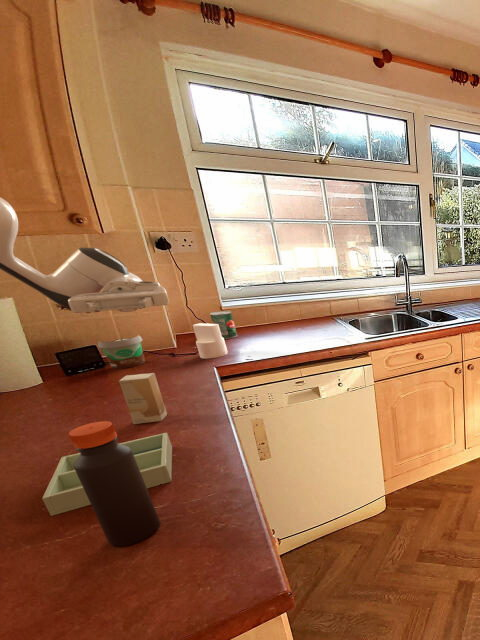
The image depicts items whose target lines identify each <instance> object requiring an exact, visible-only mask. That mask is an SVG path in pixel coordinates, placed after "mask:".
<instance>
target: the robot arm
mask: <svg viewBox="0 0 480 640" xmlns="http://www.w3.org/2000/svg"><path fill="white" fill-rule="evenodd" d="M18 233H19V219H18V215H17V212H16V211H15V209H14V207H13V206H12V205H11V204H10V202H8V201H7V200H5V199H4V198H2V196H0V270H1V271H3V272H5V273H6V274H7V275H9V276H11V277H12V278H15V279H16V280H17V281H20V282H22V283H23V284H25V285H27V286H28V287H30V288H32V289H33V290H35V291H37V292H38V293H40V294H42V295H43V296H45V297H46V298H47V299H49V300H50V301H52V302H53V303H55V304H56V305H58V306H61V307H63V308H65V309H69V310H71V312H72V313H74V314H83V313H85V314H86V313H100V312H106V311H118V312H121V313H131V312H136V311H138V310H142V309H148V308H149V307H150V308H151V307H161V306H169V305H170V304H171V302H170V299H169V296H168V292H167V290H166V289H165V287H163V286H162V285H161V284H160V282H158V281H144V280H142V278H140V277H139V276H138V275H136V274H135V273H132V272H130V271H129V270H128V267H127V266H126V264H124V263H123V261H121V260H120V259H118V258H117V257H115V256H113V255H112V254H110V253H108V252H107V251H104V250H103V249H99V248H96V247H88V246H87V247H84V246H83V247H79V248H78V249H76V250H75V251H74V252H73V253H72V254H71V255H70V256H69V257H68V258H67V259H66V260H65V261H64V262H63V263H62V264H61V265H60V266H59V267H57V269H56V270H55V271H53V272H52V273H49V274H44V273H42V272H40V271H39V270H37V269H36V268H34V267H33V266H31V265H30V264H28V263H26V262H24V261H23V260H21V259H20V258H18V257H16V256H15V255H14V248H15V247H14V246H15V243H16V239H17V236H18Z"/></svg>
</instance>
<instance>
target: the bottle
mask: <svg viewBox="0 0 480 640" xmlns="http://www.w3.org/2000/svg"><path fill="white" fill-rule="evenodd" d="M68 437H69V439H70V441H71V443H72V445H73V447H74V449H75V450H76V451H77V452H79V453H81V454H80V455H79V457H78V458H77V459H76V461H75V462H74V465H73V466H74V469H75V471H76V473H77V475H78V477H79V480H80V482H81V484H82V486H83V488H84V490H85V493H86V495H87V497H88V499H89V501H90V503H91V507H92V509H93V512H94V514H95V516H96V518H97V521H98V523H99V525H100V528H101V530H102V531H103V534H104V535H105V538H106V540H107V542H108V544H109V545H110V546H113V547H126V546H127V547H129V546H131V545H135V544H137V543H139V542H142V541H145V540H146V539H148V538H149V537H151V536H152V535H153V534H155V533H156V532H157V531H158V530H159V528H160V526H161V520H160V518H159V516H158V513H157V510H156V508H155V505H154V503H153V500H152V498H151V495H150V493H149V490H148V488H146V485H145V483H144V480H143V477H142V475H141V472H140V470H139V467H138V465H137V462H136V460H135V457H134V455H133V452H132V450H131V449H130V448H129V447H128V446H125V445H121V444H120V443H119V442H118V438H119V437H118V434H117V432H116V429H115V427H114V424H113V422H112V421H108V420H103V421H102V420H101V421H95V422H90V423H87V424H83V425H80V426H78V427H76V428H73V429H71V430H70V431H69V433H68Z"/></svg>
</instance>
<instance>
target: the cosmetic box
mask: <svg viewBox="0 0 480 640" xmlns="http://www.w3.org/2000/svg"><path fill="white" fill-rule="evenodd" d="M118 383H119V386H120V389H121V390H122V394H123V397H124V400H125V403H126V405H127V409H128V411H129V415H130V418H131V420H132V424H134V425H140V424H146V423H147V424H148V423H155V422H162V421H163V420H164V419H165V418H166V417H167V415H168V412H167V409H166V405H165V403H164V399H163V396H162V393H161V389H160V386H159V382H158V380H157V376H156V373H155V372H150V373H138V374H127V375H125V376H123V377H122V378H121V379H119V380H118Z"/></svg>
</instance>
